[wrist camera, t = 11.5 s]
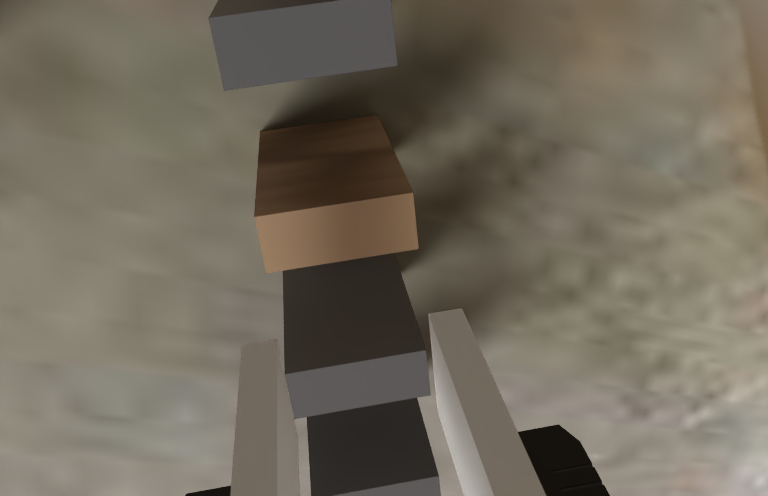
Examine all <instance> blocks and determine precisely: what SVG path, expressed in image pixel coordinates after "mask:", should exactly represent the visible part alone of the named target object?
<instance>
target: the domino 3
mask: <svg viewBox="0 0 768 496" xmlns="http://www.w3.org/2000/svg"><path fill="white" fill-rule="evenodd" d="M307 429H308V446H309V463H310V481H311V496H441V493H440V483H439V475H438V471H437V468H436V464H435V461H434V457H433V454H432V450H431V446H430V443H429V439H428V436H427V432H426V428H425V425H424V421H423V418H422V414H421V411H420V407H419V403H418V400H417V398H411V399H406V400H400V401H394V402H389V403H383V404H377V405H372V406H366V407H360V408H354V409H349V410H343V411H337V412H332V413H326V414H320V415H315V416H309V417H307Z"/></svg>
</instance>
